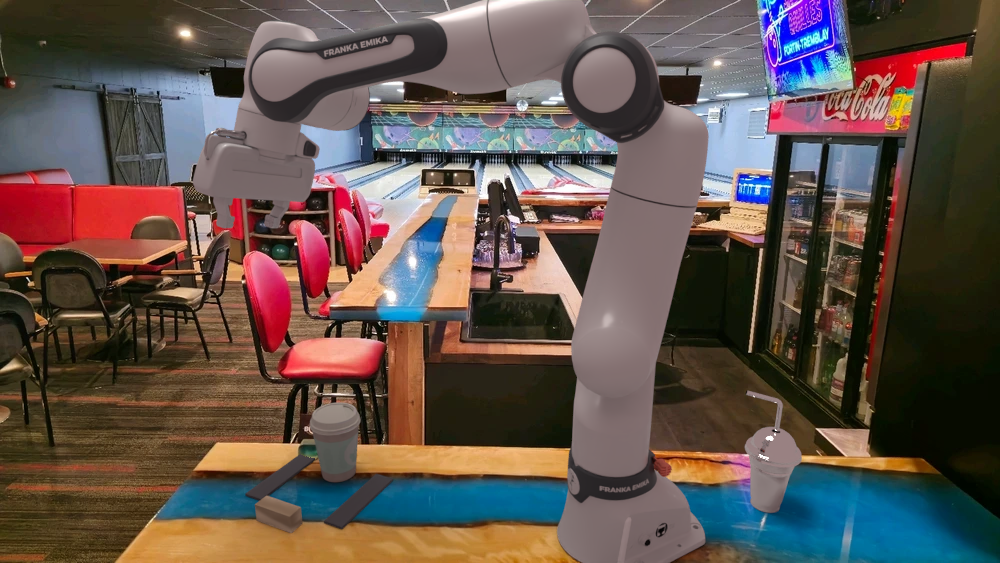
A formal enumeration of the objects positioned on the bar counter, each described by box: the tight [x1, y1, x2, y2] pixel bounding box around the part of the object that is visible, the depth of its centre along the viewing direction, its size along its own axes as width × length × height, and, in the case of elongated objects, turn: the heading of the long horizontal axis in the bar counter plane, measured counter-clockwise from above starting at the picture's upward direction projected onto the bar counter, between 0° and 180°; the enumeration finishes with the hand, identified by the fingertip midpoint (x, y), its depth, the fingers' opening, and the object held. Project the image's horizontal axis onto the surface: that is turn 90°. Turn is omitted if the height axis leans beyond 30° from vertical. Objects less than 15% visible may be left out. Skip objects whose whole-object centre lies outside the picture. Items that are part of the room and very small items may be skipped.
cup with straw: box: [744, 390, 803, 514], centre depth 100 cm, size 8×9×20 cm
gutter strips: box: [245, 453, 394, 530], centre depth 106 cm, size 14×20×1 cm
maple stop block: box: [254, 495, 303, 534], centre depth 97 cm, size 2×7×3 cm, turn 65°
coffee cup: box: [309, 402, 361, 483], centre depth 109 cm, size 8×8×12 cm
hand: (248, 227), depth 93 cm, fingers open, 8 cm apart
